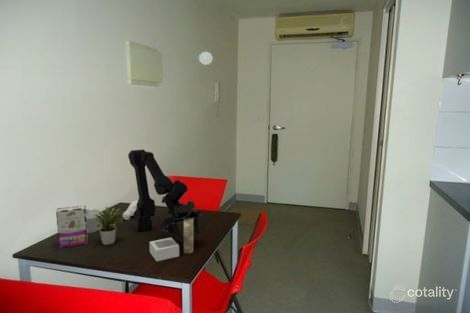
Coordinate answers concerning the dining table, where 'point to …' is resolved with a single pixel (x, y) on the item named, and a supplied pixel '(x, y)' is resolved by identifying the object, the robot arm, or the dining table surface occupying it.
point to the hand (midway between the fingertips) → (190, 237)
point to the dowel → (188, 235)
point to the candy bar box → (72, 226)
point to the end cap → (164, 249)
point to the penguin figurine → (130, 210)
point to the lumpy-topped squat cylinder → (92, 220)
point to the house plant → (108, 226)
